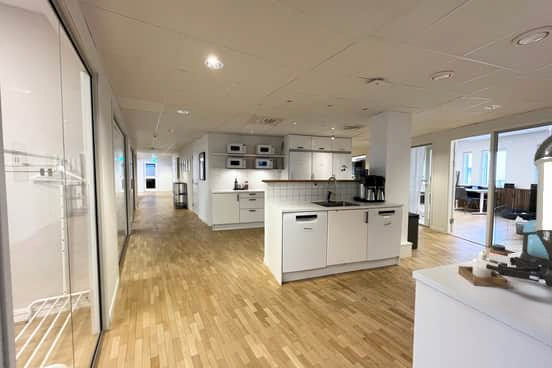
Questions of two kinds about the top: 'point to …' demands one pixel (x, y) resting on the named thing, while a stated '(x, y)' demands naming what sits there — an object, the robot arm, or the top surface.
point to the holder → (483, 278)
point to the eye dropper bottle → (481, 271)
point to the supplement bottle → (499, 253)
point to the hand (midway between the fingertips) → (482, 259)
